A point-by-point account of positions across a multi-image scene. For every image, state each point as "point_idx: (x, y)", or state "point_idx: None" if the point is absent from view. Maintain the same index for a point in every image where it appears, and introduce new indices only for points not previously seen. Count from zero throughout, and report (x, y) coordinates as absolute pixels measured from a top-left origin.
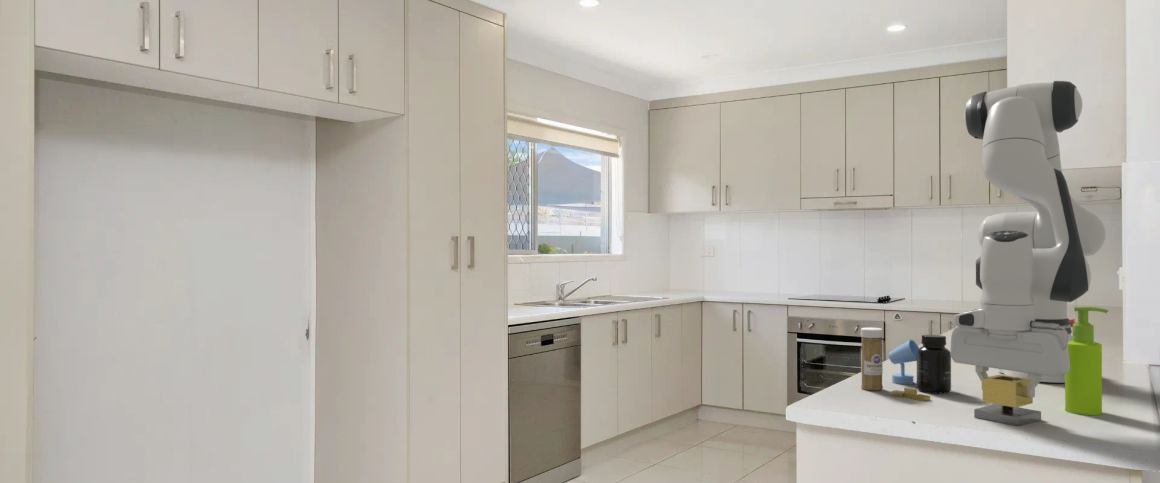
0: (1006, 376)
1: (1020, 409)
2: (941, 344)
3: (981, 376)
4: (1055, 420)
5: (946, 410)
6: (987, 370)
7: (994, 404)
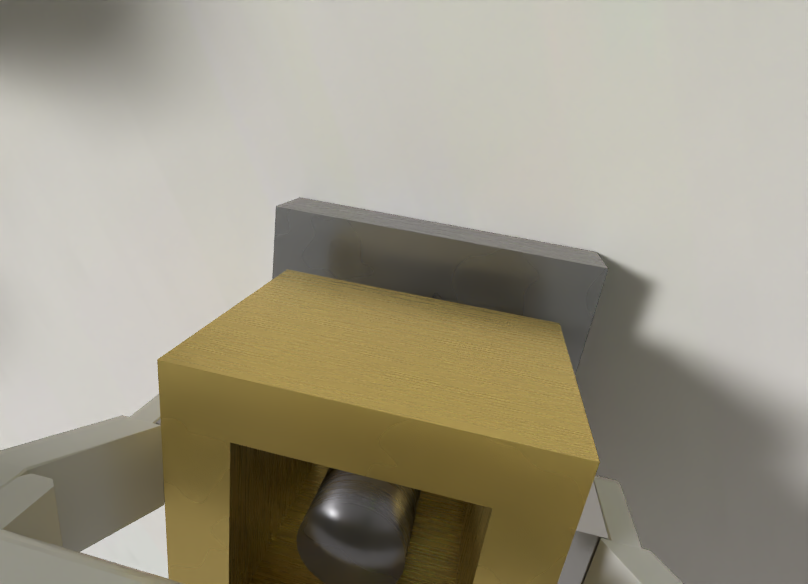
0: (277, 449)
1: (467, 302)
2: None
3: (101, 531)
4: (688, 203)
5: (118, 365)
6: (56, 510)
7: (277, 253)
